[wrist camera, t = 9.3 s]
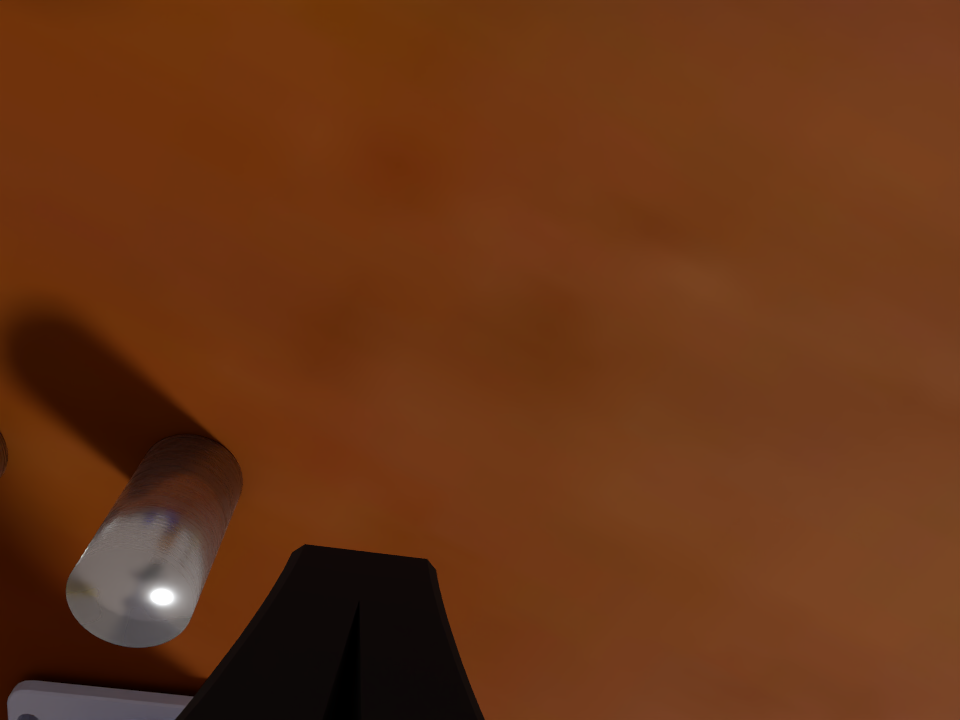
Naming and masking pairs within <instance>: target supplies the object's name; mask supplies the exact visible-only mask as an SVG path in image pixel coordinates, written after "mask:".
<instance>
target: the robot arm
mask: <svg viewBox="0 0 960 720" xmlns="http://www.w3.org/2000/svg"><path fill="white" fill-rule="evenodd" d="M7 709H8V720H484V717H483V715H482V712H481V710H480V707H479V705H478V703H477V700H476V698H475V695H474V693H473V690H472V688H471V685H470V683H469V680H468V677H467V675H466V672H465V669H464V667H463V664H462V661H461V658H460V655H459V652H458V649H457V646H456V643H455V640H454V637H453V634H452V632H451V628H450V625H449V622H448V618H447V615H446V612H445V608H444V604H443V601H442V597H441V592H440V588H439V584H438V579H437V573H436V569H435V568H434V567H433V566H432V565H431V563H430V562H429V561H428V560H427V559H422V558H413V557H405V556H397V555H389V554H380V553H372V552H364V551H356V550H347V549H339V548H331V547H323V546H315V545H306V544H305V545H303V546H302V547H300V548H298V549H297V550H295V551H294V552H292V554H291V556H290V558H289V560H288V562H287V564H286V566H285V568H284V570H283V571H282V573H281V575H280V577H279V578H278V580H277V582H276V583H275V585H274V587H273V588H272V590H271V591H270V593H269V595H268V596H267V598H266V599H265V601H264V602H263V604H262V605H261V607H260V608H259V610H258V611H257V613H256V614H255V616H254V617H253V618H252V620H251V621H250V623H249V624H248V626H247V627H246V628H245V630H244V631H243V633H242V634H241V636H240V637H239V638H238V640H237V641H236V642H235V644H234V645H233V646H232V648H231V649H230V650H229V652H228V653H227V654H226V655H225V657H224V658H223V659H222V661H221V662H220V663H219V665H218V666H217V667H216V669H215V670H214V671H213V672H212V674H211V675H210V676H209V678H208V679H207V680H206V682H205V683H204V684H203V685H202V687H201V688H200V689H199V691H198V692H197V693H196V695H195V696H194V697H193V696H184V695H174V694H164V693H154V692H144V691H135V690H125V689H115V688H105V687H95V686H86V685H76V684H66V683H56V682H46V681H37V680H28V681H23V682H20V683H18V684H17V685H16V686H15V687H14V689H13V690H12V692H11V694H10V695H9V697H8V701H7ZM30 714H31V715H34V716H31V715H30Z"/></svg>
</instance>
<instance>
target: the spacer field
mask: <svg viewBox="0 0 960 720" xmlns="http://www.w3.org/2000/svg"><path fill="white" fill-rule="evenodd" d="M7 462H8V451H7V447H6V443H5V441H4V439H3V437H2V435H1V433H0V477H1V476H2V475H3V473H4V471H5V469H6V467H7ZM242 486H243V478H242V472H241V469H240V467H239V465H238V463H237V461H236V460H235V458H234V457H233V456H232V454H231V453H230V452H229V451H228V450H227V449H225V448H224V447H223V446H221V445H220V444H218V443H216V442H215V441H213V440H210V439H208V438H205V437H202V436H197V435H188V434H186V435H175V436H171V437H168V438H165V439H163V440H161V441H159V442H158V443H156V444H155V445H154V446H152V447H151V449H150V450H149V451H148V452H147V454H146V455H145V457H144V458H143V460H142V462H141V463H140V465H139V466H138V468H137V469H136V471H135V473H134V474H133V476H132V477H131V479H130V481H129V482H128V484H127V485H126V487H125V488H124V490H123V492H122V493H121V495H120V496H119V498H118V499H117V501H116V503H115V504H114V506H113V507H112V509H111V511H110V512H109V514H108V515H107V517H106V518H105V520H104V522H103V523H102V525H101V526H100V528H99V530H98V531H97V533H96V534H95V536H94V537H93V539H92V541H91V542H90V544H89V545H88V547H87V549H86V550H85V552H84V553H83V555H82V556H81V558H80V560H79V561H78V563H77V564H76V566H75V567H74V569H73V571H72V572H71V574H70V576H69V578H68V581H67V585H66V598H67V602H68V606H69V608H70V610H71V612H72V614H73V615H74V617H75V618H76V619H77V621H78V622H79V623H80V624H81V625H82V626H83V627H84V628H85V629H86V630H88V631H89V632H90V633H92V634H93V635H95V636H97V637H98V638H100V639H102V640H105V641H107V642H110V643H113V644H116V645H120V646H125V647H135V648H141V647H151V646H156V645H160V644H163V643H165V642H168V641H170V640H171V639H173V638H175V637H176V636H177V635H179V634H180V633H181V632H182V631H183V630H184V629H185V627H186V626H187V625H188V623H189V621H190V619H191V616H192V614H193V612H194V609H195V607H196V604H197V602H198V599H199V597H200V594H201V592H202V589H203V587H204V584H205V582H206V579H207V577H208V574H209V572H210V569H211V567H212V564H213V562H214V559H215V557H216V554H217V552H218V549H219V547H220V544H221V542H222V539H223V537H224V534H225V532H226V529H227V527H228V524H229V522H230V519H231V517H232V514H233V512H234V509H235V507H236V504H237V502H238V500H239V497H240V494H241V491H242Z"/></svg>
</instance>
